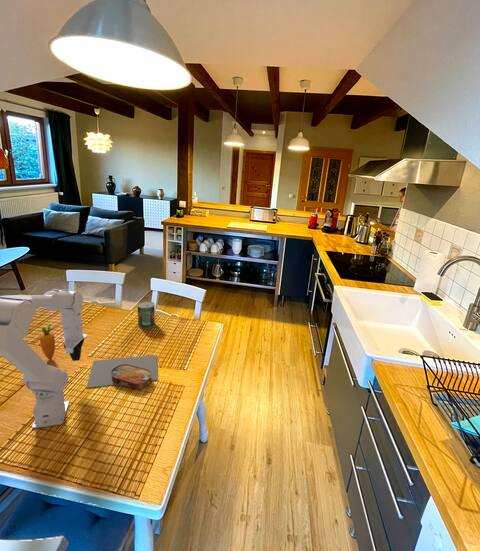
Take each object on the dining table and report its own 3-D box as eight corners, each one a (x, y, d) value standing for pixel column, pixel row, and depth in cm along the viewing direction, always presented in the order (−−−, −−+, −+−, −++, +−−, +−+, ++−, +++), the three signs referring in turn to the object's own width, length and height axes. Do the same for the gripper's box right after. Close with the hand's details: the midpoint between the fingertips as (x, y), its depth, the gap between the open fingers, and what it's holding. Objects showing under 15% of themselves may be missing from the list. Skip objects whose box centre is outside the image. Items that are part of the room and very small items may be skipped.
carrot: (54, 354, 124) (49, 320, 119) (59, 359, 121) (55, 325, 116) (40, 359, 121) (35, 325, 116) (46, 364, 118) (40, 330, 113)
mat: (157, 380, 114) (157, 379, 114) (86, 388, 108) (86, 387, 107) (156, 355, 129) (156, 354, 129) (93, 361, 122) (93, 360, 122)
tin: (105, 375, 110) (120, 360, 118) (106, 381, 112) (121, 367, 119) (142, 386, 107) (155, 370, 114) (143, 393, 108) (156, 377, 115)
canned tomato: (135, 323, 152) (134, 303, 148) (150, 319, 157) (149, 299, 153) (142, 330, 147) (141, 309, 143) (157, 325, 152) (157, 305, 148)
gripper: (81, 335, 97) (85, 371, 102) (89, 314, 110) (92, 347, 115) (56, 336, 95) (61, 373, 100) (67, 315, 108) (71, 348, 113)
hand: (76, 359), depth 107 cm, fingers closed
